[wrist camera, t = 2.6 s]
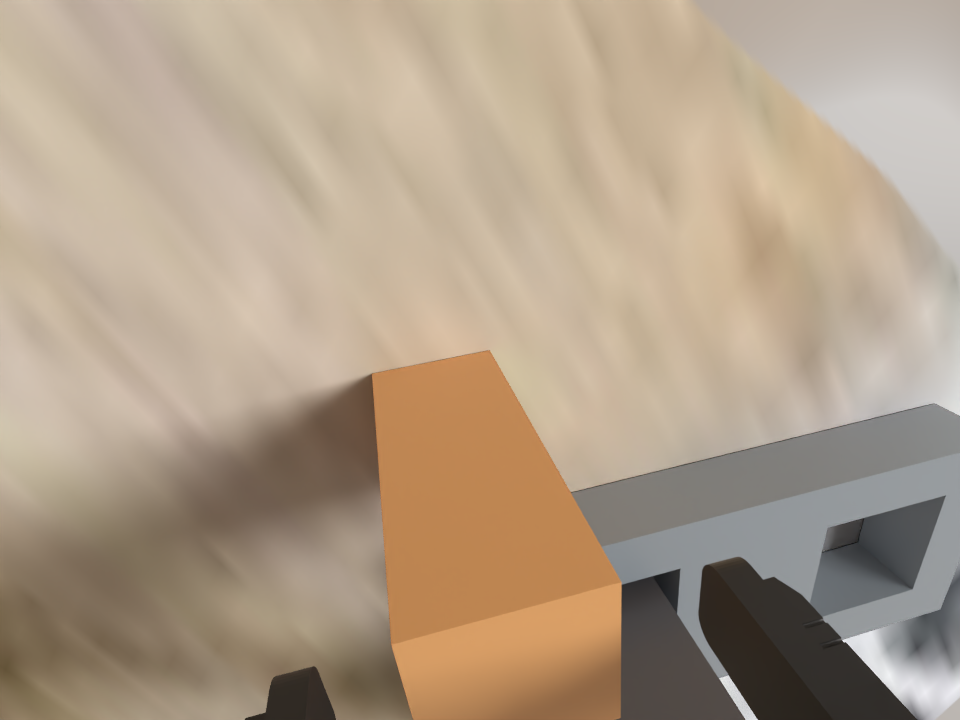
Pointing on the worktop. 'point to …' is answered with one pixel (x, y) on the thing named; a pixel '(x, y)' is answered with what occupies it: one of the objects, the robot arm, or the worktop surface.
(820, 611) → the slate power strip
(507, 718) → the orange plug
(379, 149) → the worktop surface
